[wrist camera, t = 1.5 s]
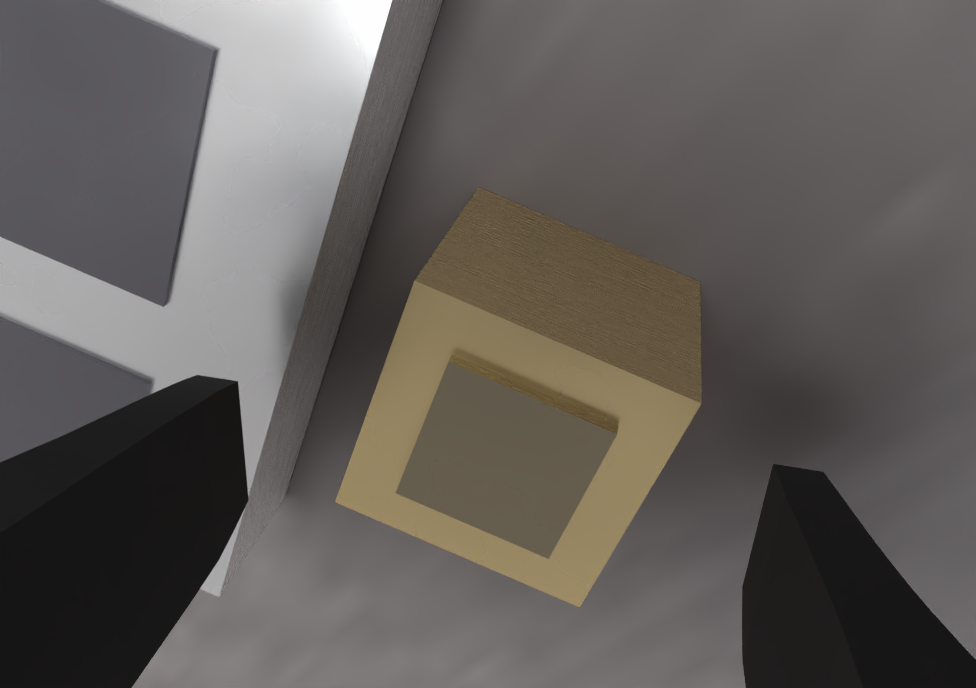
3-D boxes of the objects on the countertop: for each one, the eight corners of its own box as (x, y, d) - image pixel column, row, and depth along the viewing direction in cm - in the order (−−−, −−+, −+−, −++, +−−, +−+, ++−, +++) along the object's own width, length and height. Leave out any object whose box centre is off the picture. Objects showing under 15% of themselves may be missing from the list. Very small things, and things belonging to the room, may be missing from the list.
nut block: (700, 280, 15) (701, 411, 11) (603, 456, 17) (578, 617, 13) (479, 185, 15) (410, 286, 11) (408, 373, 17) (330, 510, 13)
